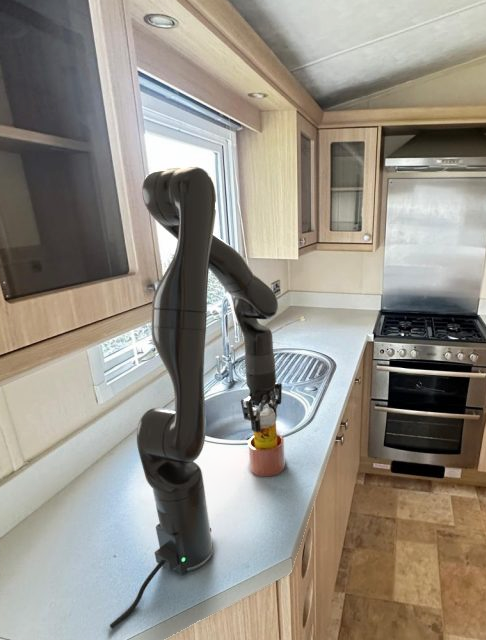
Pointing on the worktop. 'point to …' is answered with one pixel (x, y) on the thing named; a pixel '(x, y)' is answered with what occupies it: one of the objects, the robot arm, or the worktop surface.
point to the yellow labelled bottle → (266, 430)
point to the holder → (267, 458)
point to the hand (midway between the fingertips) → (264, 425)
